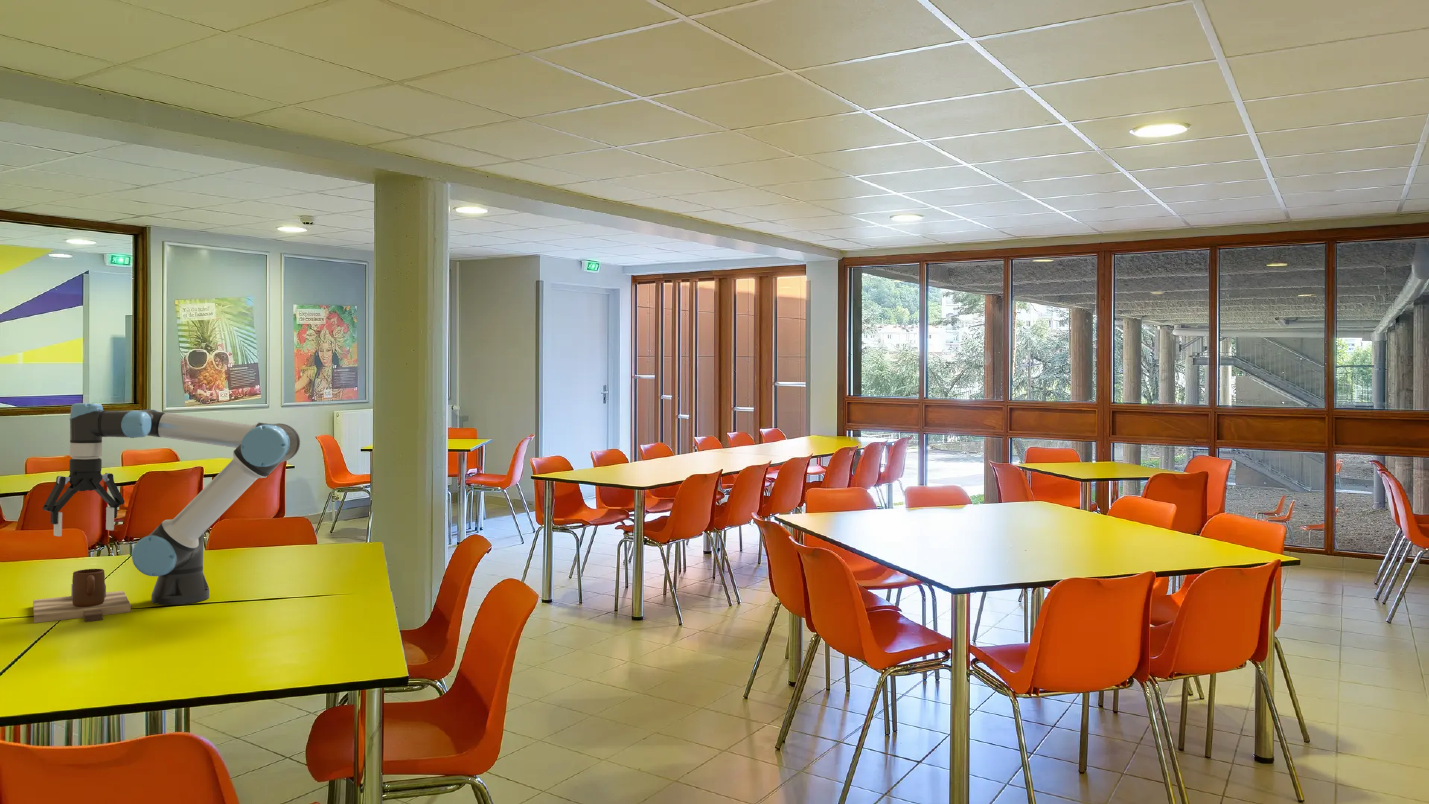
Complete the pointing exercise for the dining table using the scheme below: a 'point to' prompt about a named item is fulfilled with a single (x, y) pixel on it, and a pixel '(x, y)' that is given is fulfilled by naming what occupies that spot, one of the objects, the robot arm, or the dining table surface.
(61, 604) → the board
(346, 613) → the dining table surface
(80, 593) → the mug
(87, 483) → the robot arm
